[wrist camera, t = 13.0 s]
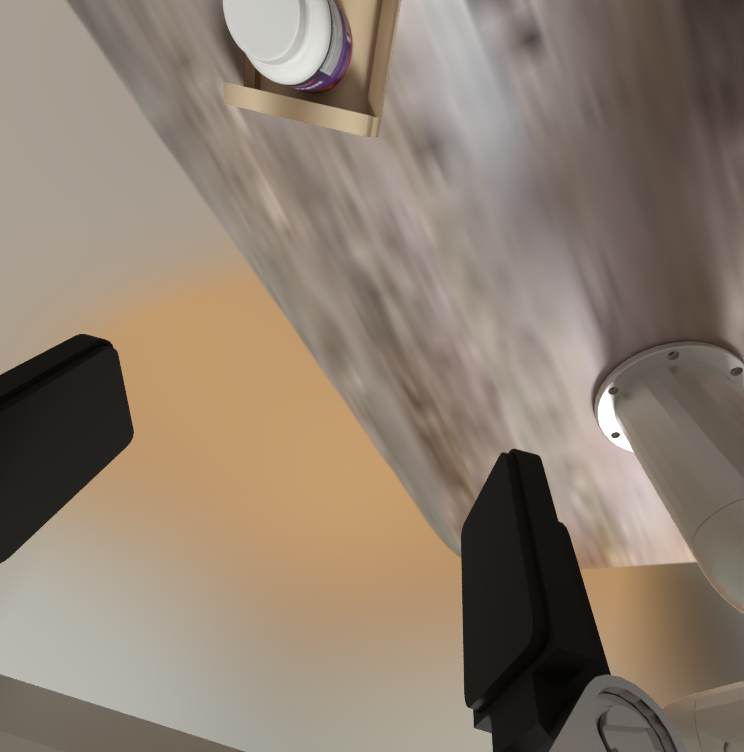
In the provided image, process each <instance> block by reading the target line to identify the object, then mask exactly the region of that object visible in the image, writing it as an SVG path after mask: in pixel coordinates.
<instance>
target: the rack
mask: <svg viewBox="0 0 744 752" xmlns="http://www.w3.org/2000/svg"><path fill="white" fill-rule="evenodd" d="M335 1H336V2H337V4H338V5H339V6H340V7H341V9H342V10H343V12H344V14H345V15H346V17H347V19H348V22H349V24H350V27H351V31H352V36H353V58H352V63H351V66H350V69H349V71H348V73H347V75H346V77H345V79H344V80H343V81H342V83H341V84H340V85H339V86H338V87H336V88H335V89H334V90H332V91H330V92H327V93H324V94H312V93H307V92H304V91H301V90H298V89H294V88H291V87H288V86H285V85H282V84H279V83H276V82H273V81H271V80H270V79H268V78H267V77H265V76H264V75H262V74H261V73H260V72H259V71H258V70H257V69H256V68H255V67H254V65H253V64H252V63H251V61H250V60H249V58H248V57H247V55H246V53H245V52H244V86H239V85H235V84H230V83H226V82H224V104H228V105H232V106H236V107H241V108H245V109H249V110H254V111H258V112H262V113H267V114H271V115H275V116H279V117H284V118H288V119H292V120H297V121H301V122H305V123H310V124H314V125H318V126H322V127H327V128H331V129H335V130H340V131H344V132H348V133H353V134H357V135H361V136H366V137H378V134H379V128H380V122H381V116H382V110H383V104H384V98H385V93H386V87H387V81H388V75H389V69H390V63H391V57H392V51H393V46H394V40H395V34H396V28H397V22H398V16H399V10H400V4H401V0H335Z"/></svg>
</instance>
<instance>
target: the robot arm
mask: <svg viewBox="0 0 744 752" xmlns="http://www.w3.org/2000/svg"><path fill="white" fill-rule="evenodd" d="M594 411H595V417H596V420H597V423H598V425H599V427H600V429H601V430H602V432H603V434H604V435H605V436H606V437H607V438H608V439H609V440H610V441H611V442H613V443H614V444H615V445H617V446H619V447H621V448H623V449H625V450H627V451H631V452H634V454H635V456H636V457H637V459H638V461H639V463H640V464H641V466H642V468H643V469H644V471H645V473H646V475H647V476H648V478H649V480H650V482H651V483H652V485H653V487H654V488H655V490H656V492H657V494H658V495H659V497H660V499H661V501H662V502H663V504H664V506H665V508H666V509H667V511H668V513H669V514H670V516H671V518H672V520H673V521H674V523H675V525H676V527H677V528H678V530H679V532H680V533H681V535H682V537H683V539H684V540H685V542H686V544H687V546H688V547H689V549H690V551H691V552H692V554H693V556H694V558H695V559H696V561H697V562H698V564H699V566H700V568H701V569H702V571H703V573H704V574H705V576H706V577H707V579H708V580H709V582H710V583H711V584H712V586H713V587H714V588H715V589H716V590H717V592H718V593H719V594H720V595H721V596H722V597H723V598H724V599H725V600H726V601H728V602H729V603H730V604H731V605H732V606H733V607H735V608H736V609H737V610H739V611H740V612H742V613H743V614H744V363H743V362H742V361H741V360H740V359H739V358H738V357H736V356H735V355H734V354H732V353H731V352H729V351H727V350H725V349H723V348H721V347H719V346H716V345H712V344H708V343H704V342H692V341H685V342H673V343H668V344H663V345H659V346H655V347H653V348H650V349H647V350H644V351H642V352H640V353H638V354H636V355H634V356H632V357H630V358H628V359H627V360H626V361H624V362H623V363H622V364H620V365H619V366H617V367H616V368H615V369H614V370H613V371H612V372H611V373H610V374H609V375H608V376H607V378H606V379H605V380H604V382H603V383H602V385H601V386H600V388H599V390H598V393H597V395H596V399H595V404H594ZM133 434H134V431H133V426H132V420H131V416H130V411H129V406H128V401H127V396H126V391H125V386H124V381H123V376H122V371H121V366H120V361H119V356H118V353H117V351H116V350H115V349H114V348H113V345H112V344H111V343H110V342H109V341H107V340H105V339H101V338H97V337H94V336H90V335H86V334H79V335H76V336H74V337H72V338H70V339H69V340H66V341H64V342H63V343H61V344H59V345H57V346H55V347H53V348H51V349H49V350H47V351H45V352H43V353H41V354H40V355H38V356H36V357H34V358H32V359H30V360H28V361H26V362H24V363H22V364H20V365H18V366H16V367H15V368H13V369H11V370H9V371H7V372H5V373H3V374H1V375H0V563H2V562H3V561H5V560H6V559H8V558H9V557H10V556H11V555H12V554H13V553H15V552H16V551H17V550H18V549H19V548H20V547H21V546H22V545H23V544H24V543H25V542H26V541H27V540H28V539H29V538H30V537H31V536H32V535H34V534H35V532H37V531H38V530H39V529H40V528H41V527H42V526H43V525H44V524H45V523H46V522H47V521H48V520H49V519H51V518H52V517H53V516H54V515H55V514H56V513H57V512H58V511H59V510H60V509H61V508H62V507H63V506H64V505H65V504H66V503H68V501H70V500H71V499H72V498H73V497H74V496H75V495H76V494H77V493H78V492H79V491H80V490H81V489H82V488H83V487H84V486H86V485H87V484H88V483H89V482H90V481H91V480H92V479H93V478H94V477H95V476H96V475H97V474H98V473H99V472H100V471H101V470H103V469H104V468H105V467H106V466H107V465H108V464H109V463H110V462H111V461H112V460H113V459H114V458H115V457H116V456H117V455H118V454H119V453H120V452H122V451H123V450H124V449H125V448H126V447H127V446H128V444H129V443H130V442H131V440H132V438H133ZM461 557H462V600H463V601H462V604H463V648H464V650H463V651H464V694H465V702H466V705H467V707H468V708H471V709H473V715H474V728H476V729H480V730H483V731H486V732H490V733H492V743H493V752H744V681H742V682H738V683H734V684H730V685H726V686H722V687H718V688H715V689H711V690H707V691H703V692H700V693H696V694H692V695H689V696H686V697H683V698H681V699H678V700H676V701H674V702H672V703H670V704H668V705H667V706H666V707H664V708H663V709H661V708H660V707H659V706H658V704H656V702H655V701H654V700H653V699H652V698H651V697H650V696H649V695H647V694H646V693H645V692H644V691H643V690H641V689H640V688H639V687H638V686H636V685H635V684H633V683H631V682H629V681H627V680H625V679H623V678H621V677H617V676H612V675H611V674H610V671H609V667H608V664H607V660H606V657H605V654H604V650H603V647H602V644H601V640H600V637H599V633H598V630H597V626H596V623H595V620H594V617H593V613H592V610H591V606H590V603H589V599H588V596H587V593H586V589H585V586H584V582H583V579H582V576H581V573H580V569H579V566H578V562H577V559H576V555H575V552H574V549H573V545H572V542H571V538H570V535H569V533H568V530H567V528H566V527H565V525H564V524H563V523H561V522H558V518H557V515H556V511H555V507H554V504H553V500H552V496H551V493H550V489H549V486H548V482H547V478H546V475H545V471H544V468H543V464H542V460H541V458H540V456H538V455H536V454H532V453H528V452H525V451H521V450H517V449H512V450H511V451H510V452H509V453H508V454H507V453H501V454H500V456H499V458H498V460H497V461H496V463H495V465H494V467H493V469H492V471H491V473H490V475H489V477H488V479H487V481H486V482H485V484H484V486H483V488H482V490H481V492H480V494H479V496H478V498H477V500H476V502H475V503H474V505H473V507H472V509H471V511H470V513H469V515H468V517H467V519H466V521H465V523H464V525H463V528H462V534H461ZM0 752H244V751H241V750H238V749H235V748H231V747H228V746H225V745H222V744H219V743H216V742H212V741H209V740H206V739H203V738H200V737H197V736H194V735H191V734H188V733H184V732H181V731H178V730H175V729H172V728H169V727H166V726H162V725H159V724H156V723H153V722H150V721H147V720H143V719H140V718H137V717H134V716H131V715H128V714H124V713H121V712H118V711H115V710H112V709H109V708H105V707H102V706H99V705H96V704H93V703H90V702H86V701H83V700H80V699H77V698H74V697H70V696H67V695H64V694H61V693H57V692H55V691H51V690H48V689H45V688H42V687H39V686H35V685H32V684H29V683H26V682H22V681H19V680H16V679H13V678H10V677H7V676H4V675H0Z"/></svg>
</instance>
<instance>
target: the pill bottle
mask: <svg viewBox="0 0 744 752" xmlns="http://www.w3.org/2000/svg"><path fill="white" fill-rule="evenodd" d="M223 10H224V16H225V20H226V23H227V26H228V29H229V31H230V33H231V35H232V37H233V39H234V40H235V42H236V43H237V45H238V46H239V47H240V48H241V49H242V50H243V51H244V52H245V53H246V55H247V57H248V58H249V60H250V61H251V63H252V64H253V65H254V67H255V68H256V69H257V70H258V71H259V72H260V73H261V74H262V75H264V76H265V77H267V78H268V79H270V80H271V81H273V82H276V83H279V84H282V85H285V86H288V87H291V88H294V89H298V90H301V91H304V92H307V93H312V94H324V93H327V92H330V91H332V90H334V89H335V88H336V87H338V86H339V85H340V84H341V83H342V81H343V80H344V79H345V77H346V75H347V73H348V71H349V69H350V66H351V63H352V58H353V36H352V31H351V27H350V24H349V22H348V19H347V17H346V15H345V14H344V12H343V10H342V9H341V7H340V6H339V5H338V4H337V2H336V1H335V0H223Z"/></svg>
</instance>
